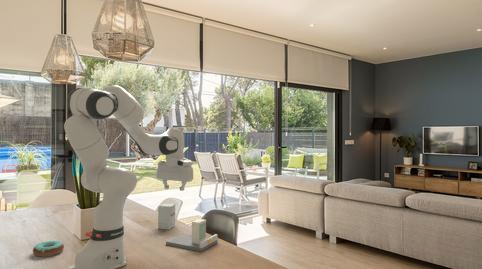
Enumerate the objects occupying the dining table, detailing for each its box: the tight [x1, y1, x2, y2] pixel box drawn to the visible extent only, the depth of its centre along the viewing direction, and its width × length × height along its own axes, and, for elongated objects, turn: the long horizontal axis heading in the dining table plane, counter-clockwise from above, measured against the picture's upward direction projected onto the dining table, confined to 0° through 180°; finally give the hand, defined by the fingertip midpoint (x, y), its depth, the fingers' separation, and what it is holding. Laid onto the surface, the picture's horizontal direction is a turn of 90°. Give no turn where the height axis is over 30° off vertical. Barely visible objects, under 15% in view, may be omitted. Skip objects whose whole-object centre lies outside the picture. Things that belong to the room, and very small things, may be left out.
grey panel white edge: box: [165, 233, 218, 252], centre depth 162 cm, size 14×20×4 cm
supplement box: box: [157, 203, 176, 230], centre depth 188 cm, size 7×7×13 cm
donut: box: [32, 240, 65, 258], centre depth 148 cm, size 12×12×4 cm
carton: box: [191, 218, 207, 244], centre depth 160 cm, size 6×4×10 cm
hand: (174, 189), depth 165 cm, fingers open, 8 cm apart
